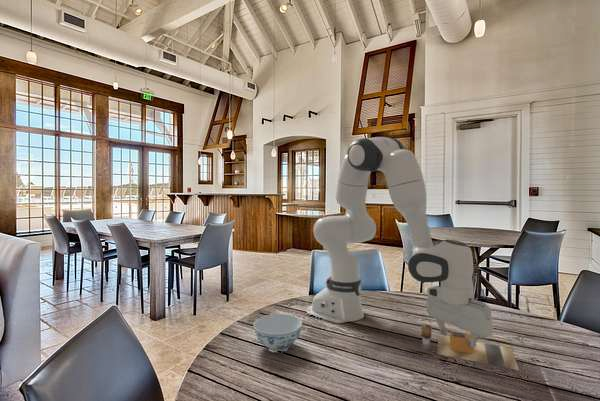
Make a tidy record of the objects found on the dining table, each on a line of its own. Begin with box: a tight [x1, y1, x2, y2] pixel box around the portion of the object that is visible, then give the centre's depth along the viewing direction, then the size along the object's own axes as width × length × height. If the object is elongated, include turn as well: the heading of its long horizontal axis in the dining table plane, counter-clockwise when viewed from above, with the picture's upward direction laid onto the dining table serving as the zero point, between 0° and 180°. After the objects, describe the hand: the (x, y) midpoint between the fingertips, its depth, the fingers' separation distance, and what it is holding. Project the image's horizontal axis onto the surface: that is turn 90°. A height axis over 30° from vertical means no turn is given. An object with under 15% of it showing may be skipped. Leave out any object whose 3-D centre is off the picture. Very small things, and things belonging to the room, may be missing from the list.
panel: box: [436, 334, 520, 371], centre depth 95 cm, size 20×13×1 cm, turn 64°
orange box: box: [449, 330, 473, 354], centre depth 97 cm, size 6×4×4 cm, turn 68°
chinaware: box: [253, 313, 303, 351], centre depth 101 cm, size 15×15×8 cm
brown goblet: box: [420, 323, 432, 351], centre depth 97 cm, size 4×4×8 cm
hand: (457, 340), depth 97 cm, fingers open, 8 cm apart
